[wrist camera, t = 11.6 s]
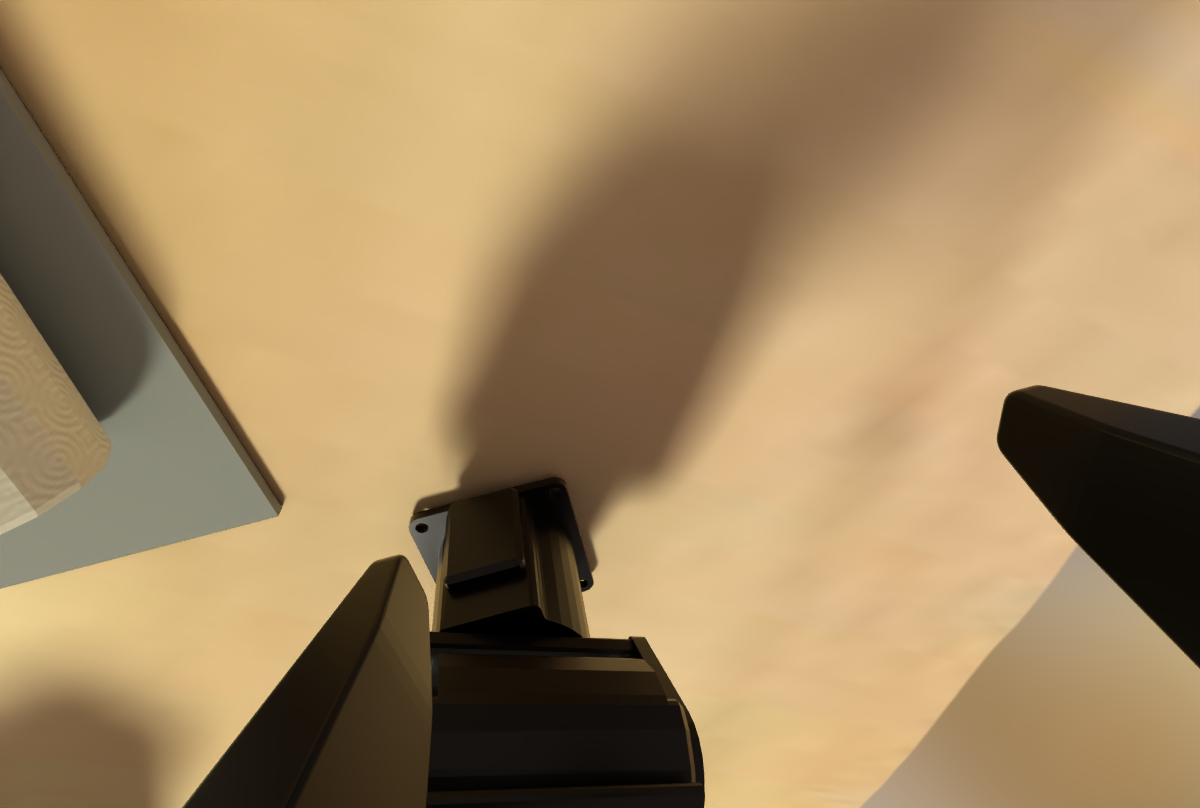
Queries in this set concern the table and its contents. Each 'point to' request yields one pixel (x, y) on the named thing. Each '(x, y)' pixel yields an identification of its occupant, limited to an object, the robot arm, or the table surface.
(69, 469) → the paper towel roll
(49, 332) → the gray mat
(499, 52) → the table surface
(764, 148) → the table surface
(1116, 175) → the table surface
